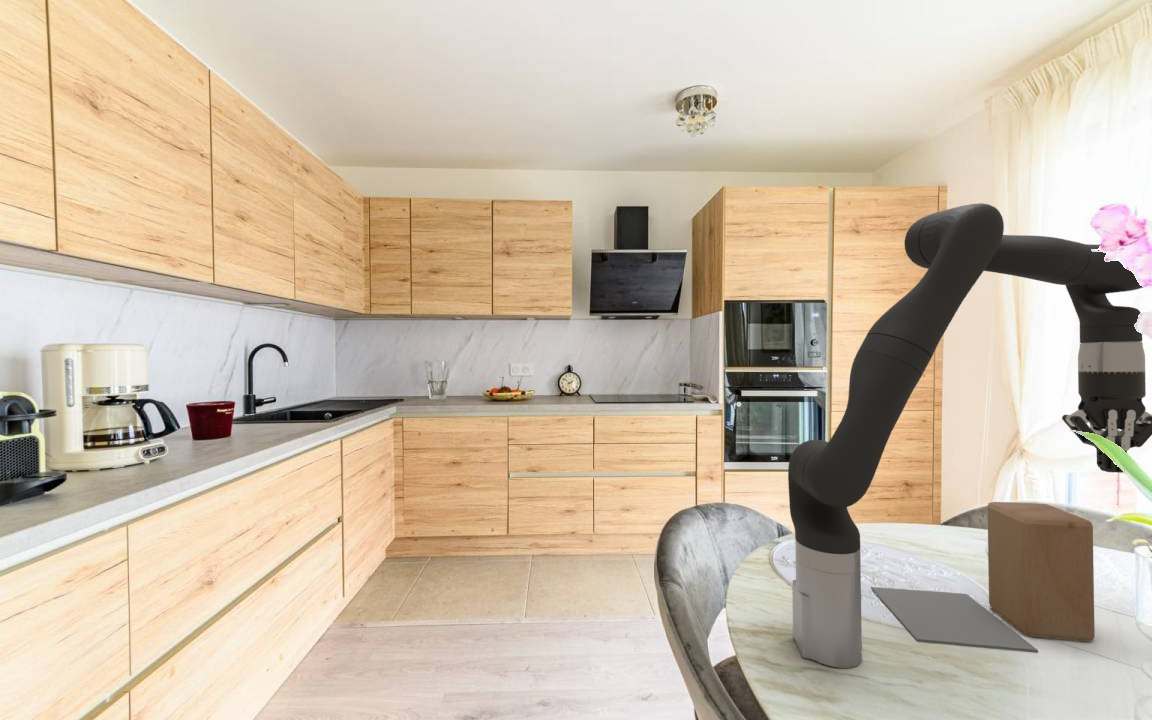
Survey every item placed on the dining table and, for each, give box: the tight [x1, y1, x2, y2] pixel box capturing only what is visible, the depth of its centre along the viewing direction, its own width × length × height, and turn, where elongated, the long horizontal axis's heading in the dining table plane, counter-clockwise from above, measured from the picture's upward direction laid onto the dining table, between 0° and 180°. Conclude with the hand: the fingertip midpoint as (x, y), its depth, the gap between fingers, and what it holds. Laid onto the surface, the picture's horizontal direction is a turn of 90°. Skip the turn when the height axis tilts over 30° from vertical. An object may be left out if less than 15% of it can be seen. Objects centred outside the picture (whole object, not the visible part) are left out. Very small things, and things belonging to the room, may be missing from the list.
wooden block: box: [987, 501, 1096, 642], centre depth 82 cm, size 10×10×20 cm
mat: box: [870, 586, 1039, 653], centre depth 84 cm, size 17×18×1 cm
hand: (1111, 471), depth 79 cm, fingers closed
